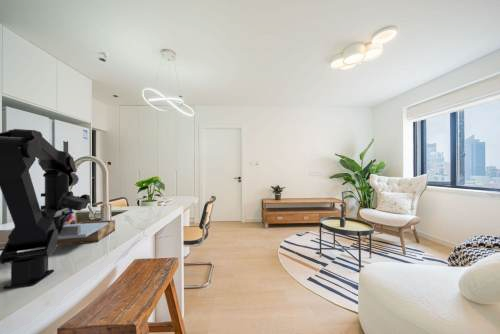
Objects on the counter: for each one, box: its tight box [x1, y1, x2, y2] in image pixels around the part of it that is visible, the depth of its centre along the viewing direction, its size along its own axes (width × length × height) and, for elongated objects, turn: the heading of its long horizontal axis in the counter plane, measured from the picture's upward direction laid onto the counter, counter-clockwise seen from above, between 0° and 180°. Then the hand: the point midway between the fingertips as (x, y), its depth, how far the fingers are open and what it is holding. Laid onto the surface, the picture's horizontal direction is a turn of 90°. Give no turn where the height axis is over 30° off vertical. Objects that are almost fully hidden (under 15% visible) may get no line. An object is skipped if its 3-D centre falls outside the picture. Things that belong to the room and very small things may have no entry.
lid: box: [58, 222, 108, 239], centre depth 71 cm, size 15×15×4 cm
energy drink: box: [63, 208, 76, 226], centre depth 86 cm, size 5×5×12 cm
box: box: [56, 219, 116, 246], centre depth 79 cm, size 14×14×5 cm
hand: (57, 234), depth 63 cm, fingers closed
